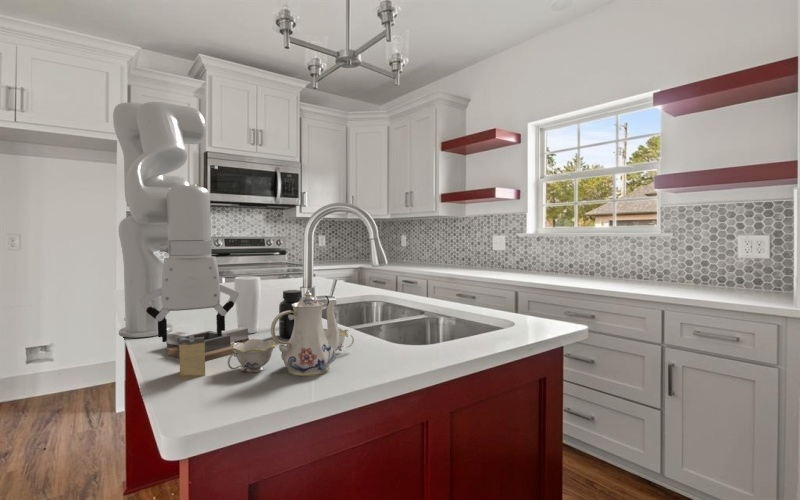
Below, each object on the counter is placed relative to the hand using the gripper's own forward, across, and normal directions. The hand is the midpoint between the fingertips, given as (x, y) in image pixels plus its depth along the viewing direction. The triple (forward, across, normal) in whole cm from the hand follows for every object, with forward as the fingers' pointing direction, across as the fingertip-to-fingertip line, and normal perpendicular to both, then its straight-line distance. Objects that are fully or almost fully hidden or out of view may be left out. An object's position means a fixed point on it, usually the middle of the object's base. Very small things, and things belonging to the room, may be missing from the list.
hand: (192, 337), depth 85 cm
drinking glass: (+7, +14, +31) cm, 35 cm away
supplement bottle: (+7, +24, +22) cm, 33 cm away
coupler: (+7, 0, +1) cm, 7 cm away
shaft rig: (+7, +4, +19) cm, 20 cm away
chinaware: (+8, +20, -3) cm, 22 cm away
